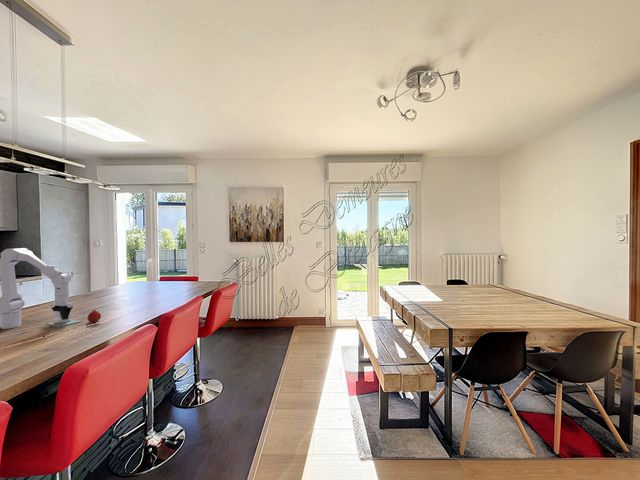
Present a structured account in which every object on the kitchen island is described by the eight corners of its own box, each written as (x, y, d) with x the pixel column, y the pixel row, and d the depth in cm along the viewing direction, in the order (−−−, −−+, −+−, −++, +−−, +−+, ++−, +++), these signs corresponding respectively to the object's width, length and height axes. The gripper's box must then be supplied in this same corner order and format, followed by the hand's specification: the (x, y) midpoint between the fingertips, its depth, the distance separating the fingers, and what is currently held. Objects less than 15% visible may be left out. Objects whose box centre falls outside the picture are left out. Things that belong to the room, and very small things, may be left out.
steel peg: (54, 323, 151) (54, 311, 151) (64, 320, 155) (63, 308, 155) (60, 324, 150) (59, 311, 150) (69, 321, 154) (69, 309, 154)
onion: (93, 325, 151) (92, 311, 151) (85, 324, 152) (84, 310, 152) (103, 322, 156) (103, 308, 156) (95, 321, 158) (95, 308, 158)
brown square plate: (18, 331, 142) (18, 329, 142) (41, 326, 150) (41, 324, 150) (27, 333, 138) (26, 331, 138) (50, 328, 147) (50, 326, 147)
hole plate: (46, 326, 150) (46, 323, 150) (68, 320, 159) (68, 318, 159) (59, 329, 145) (59, 326, 145) (82, 323, 154) (82, 320, 154)
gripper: (44, 295, 151) (45, 320, 151) (61, 297, 147) (62, 322, 147) (59, 293, 158) (60, 316, 158) (76, 294, 153) (77, 318, 154)
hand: (62, 318), depth 153 cm, fingers closed on steel peg, 4 cm apart
